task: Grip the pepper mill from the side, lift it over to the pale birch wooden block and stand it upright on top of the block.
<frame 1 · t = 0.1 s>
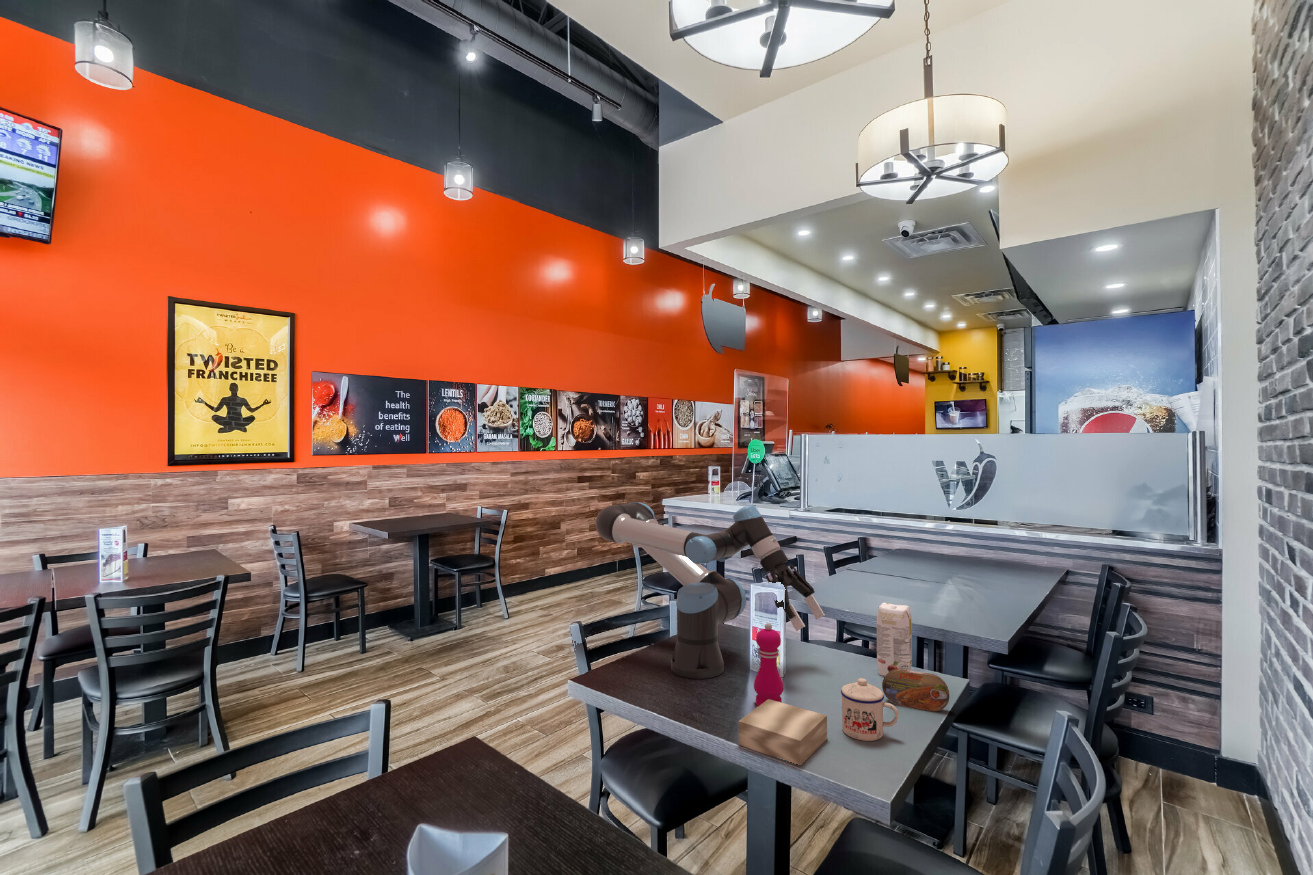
hand: (811, 622, 164), 15 cm above the table, tool tilted 35°, fingers open, 13 cm apart
juice carton: (894, 675, 166), on the table
pepper mill: (768, 705, 147), on the table
tin: (915, 707, 146), on the table
teacup with lid: (869, 734, 132), on the table
birch block: (783, 741, 128), on the table
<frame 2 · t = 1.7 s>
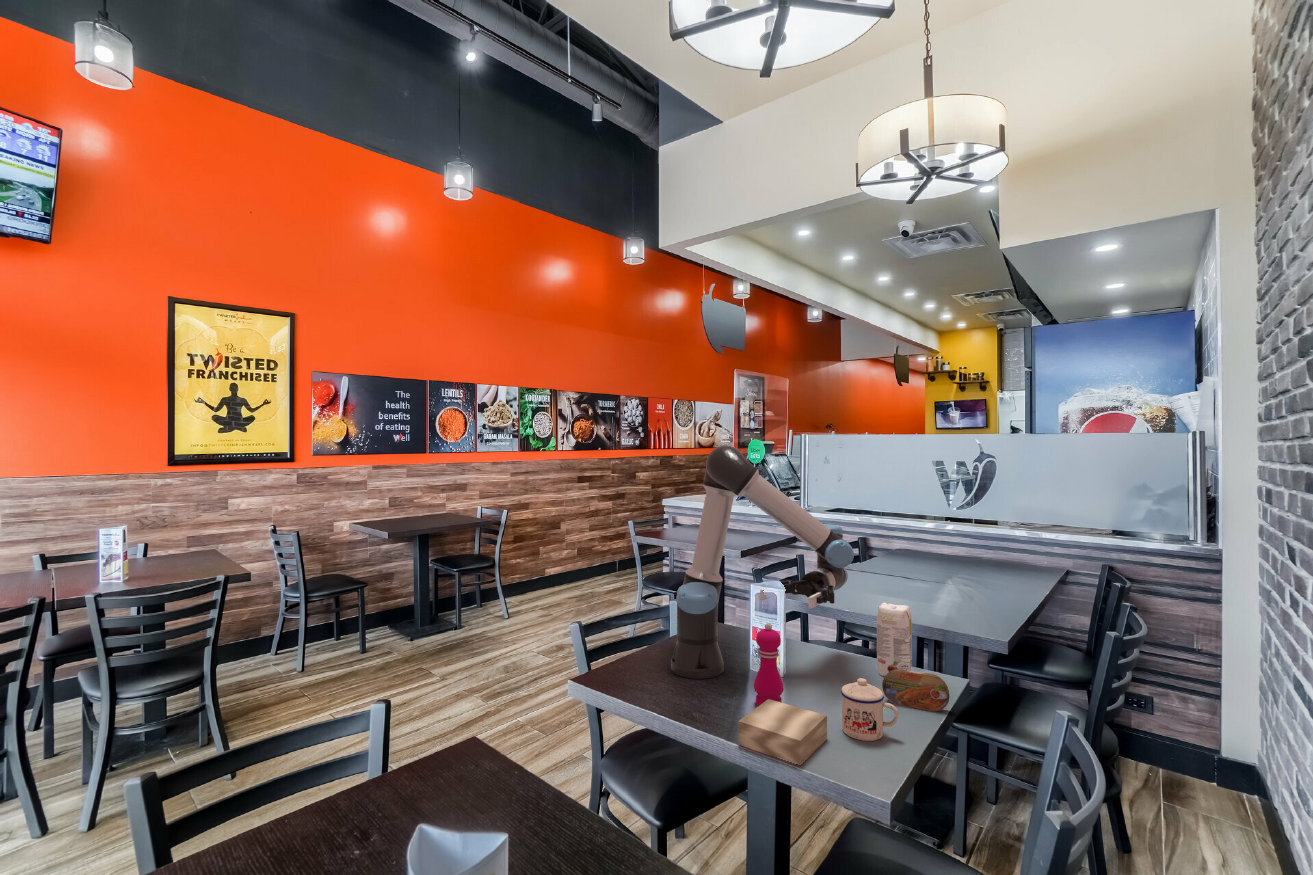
hand: (785, 598, 155), 24 cm above the table, tool horizontal, fingers open, 13 cm apart
nothing on the table moved.
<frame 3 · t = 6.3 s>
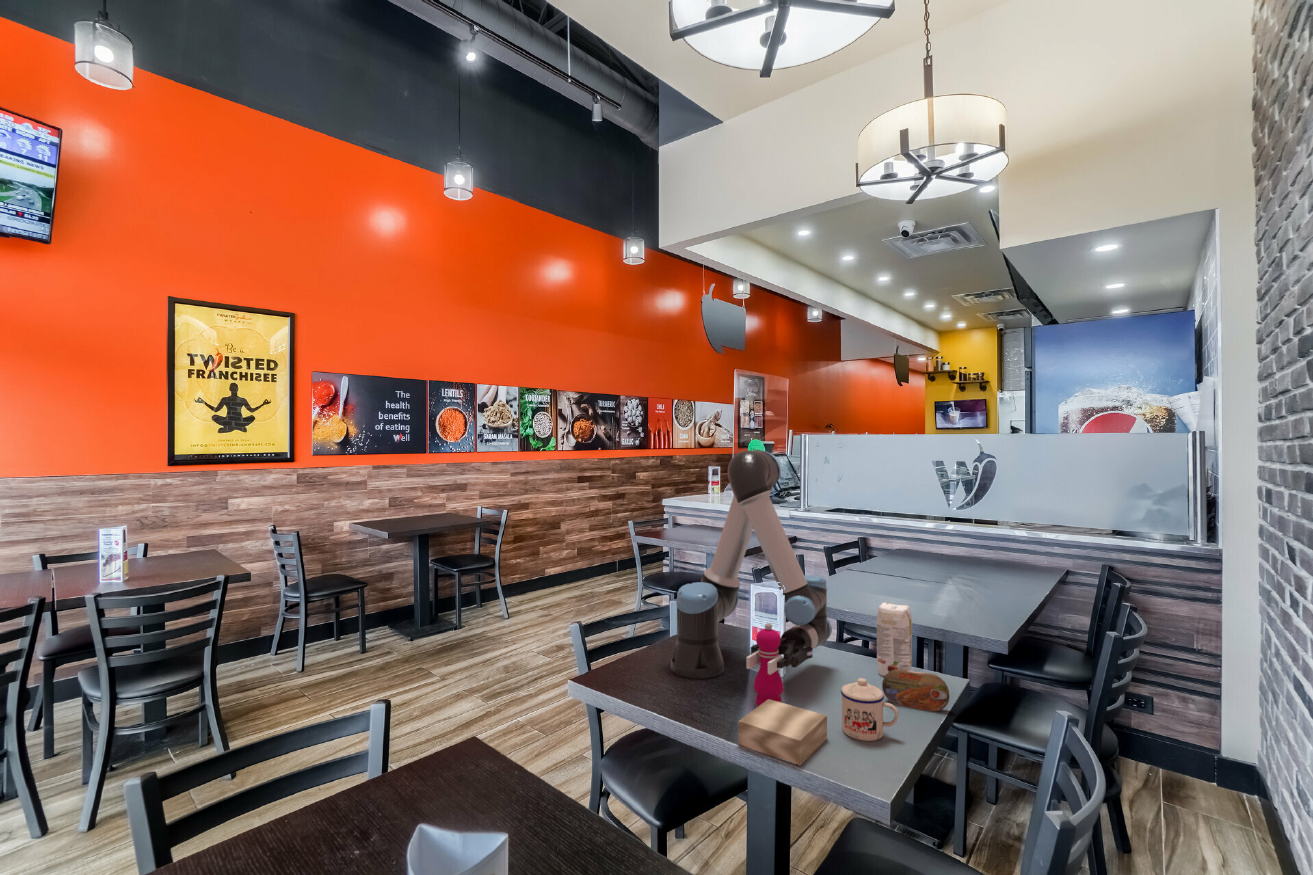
hand: (758, 665, 143), 11 cm above the table, tool horizontal, fingers closed on pepper mill, 5 cm apart
pepper mill: (768, 705, 147), on the table, touching gripper
everything else where it was.
when the fingers open (17 cm above the table, at t = 11.5 s): pepper mill drops 1 cm, resting on birch block.
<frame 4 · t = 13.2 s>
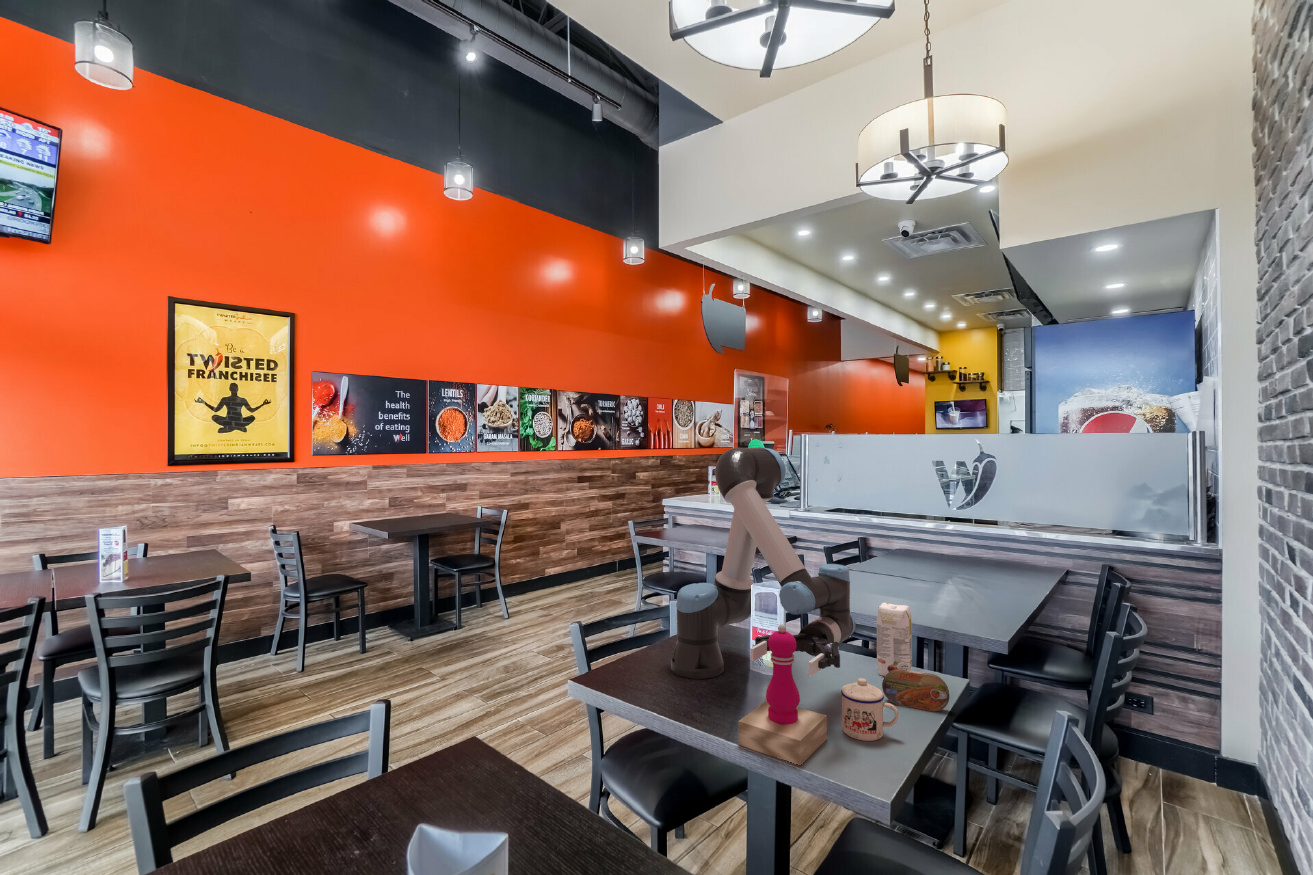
hand: (779, 661, 127), 18 cm above the table, tool horizontal, fingers open, 13 cm apart
pepper mill: (782, 718, 128), point 5 cm above the table, touching birch block
everything else where it was.
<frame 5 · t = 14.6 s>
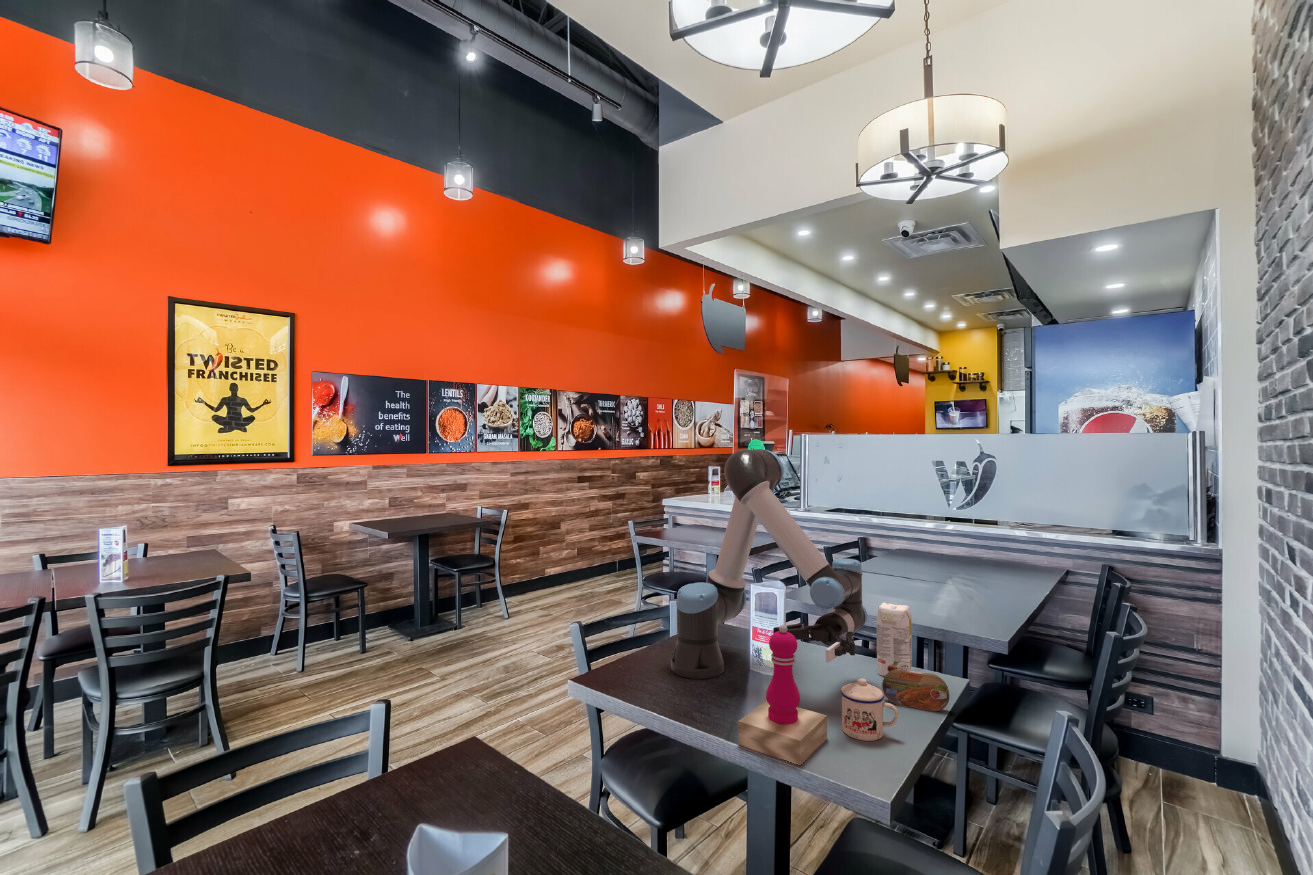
hand: (798, 649, 135), 18 cm above the table, tool horizontal, fingers open, 13 cm apart
nothing on the table moved.
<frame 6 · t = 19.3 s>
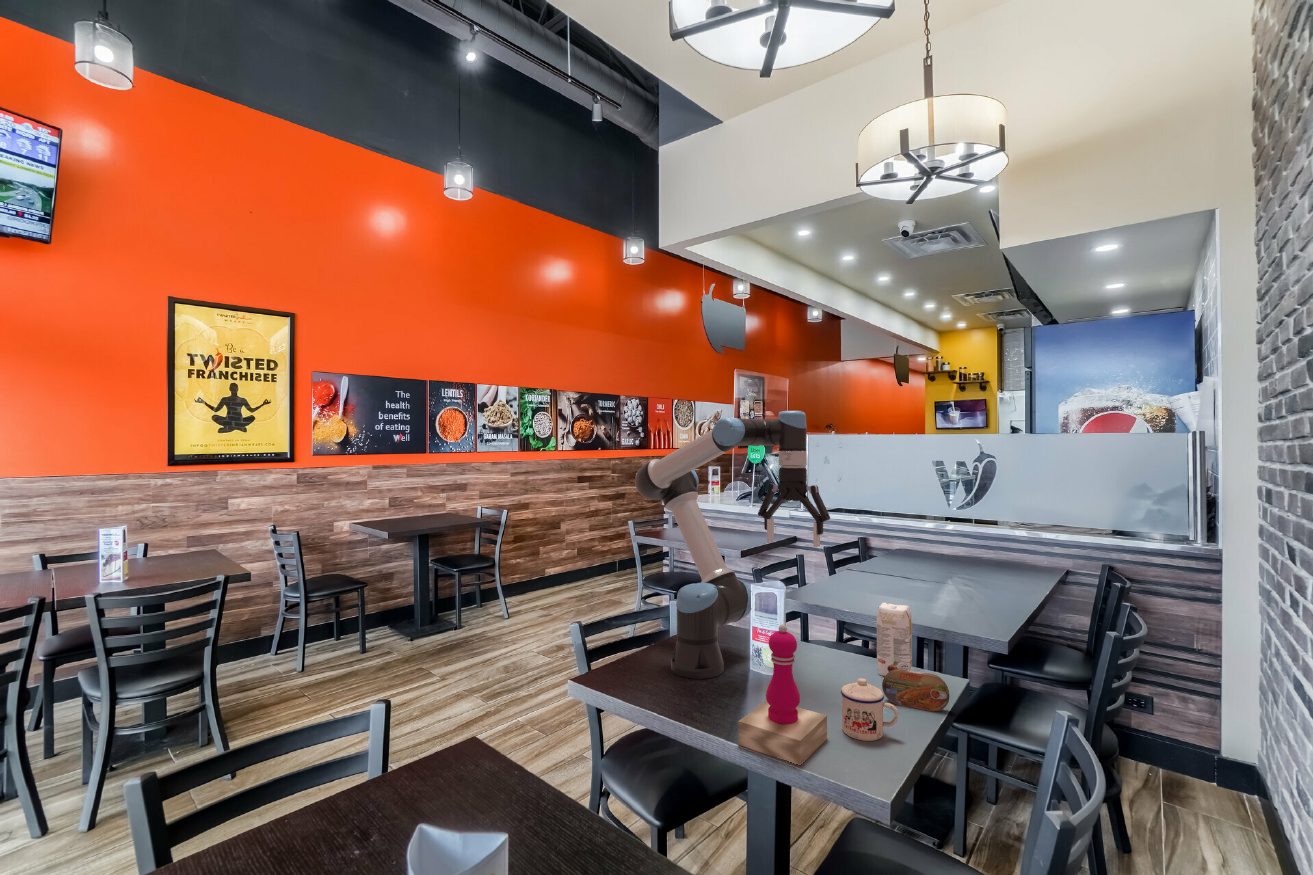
hand: (793, 544, 164), 37 cm above the table, tool pointing down, fingers open, 13 cm apart
nothing on the table moved.
at the end: pepper mill inside the target area on the birch block (0.1 cm from its centre), point 4.8 cm above the birch block's base; pepper mill tilted 1°; the gripper is holding nothing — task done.
